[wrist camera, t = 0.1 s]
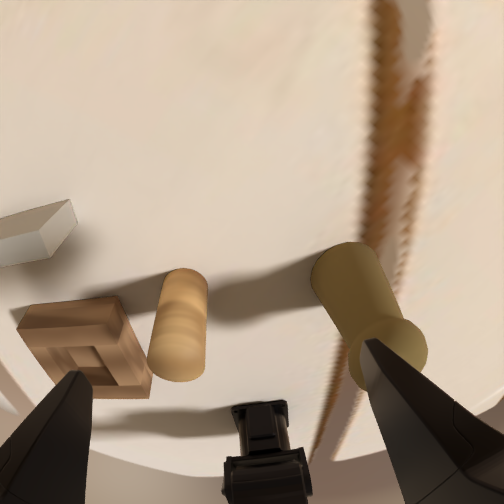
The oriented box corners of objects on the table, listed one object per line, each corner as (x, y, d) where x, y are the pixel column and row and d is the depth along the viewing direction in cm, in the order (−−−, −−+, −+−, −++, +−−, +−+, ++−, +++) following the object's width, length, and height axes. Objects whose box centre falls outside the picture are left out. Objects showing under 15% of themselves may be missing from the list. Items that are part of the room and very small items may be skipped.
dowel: (211, 301, 26) (210, 379, 19) (169, 306, 26) (157, 383, 19) (203, 265, 24) (197, 342, 18) (158, 271, 24) (138, 347, 18)
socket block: (153, 371, 30) (149, 398, 27) (73, 373, 30) (65, 397, 27) (117, 295, 25) (106, 324, 22) (30, 305, 25) (16, 329, 22)
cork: (321, 312, 28) (358, 417, 18) (300, 259, 25) (341, 372, 15) (383, 285, 27) (439, 380, 18) (371, 230, 24) (443, 325, 15)
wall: (77, 223, 22) (50, 258, 17) (-1, 241, 22) (-30, 273, 17) (69, 198, 21) (38, 229, 16) (-9, 221, 21) (-41, 251, 16)
